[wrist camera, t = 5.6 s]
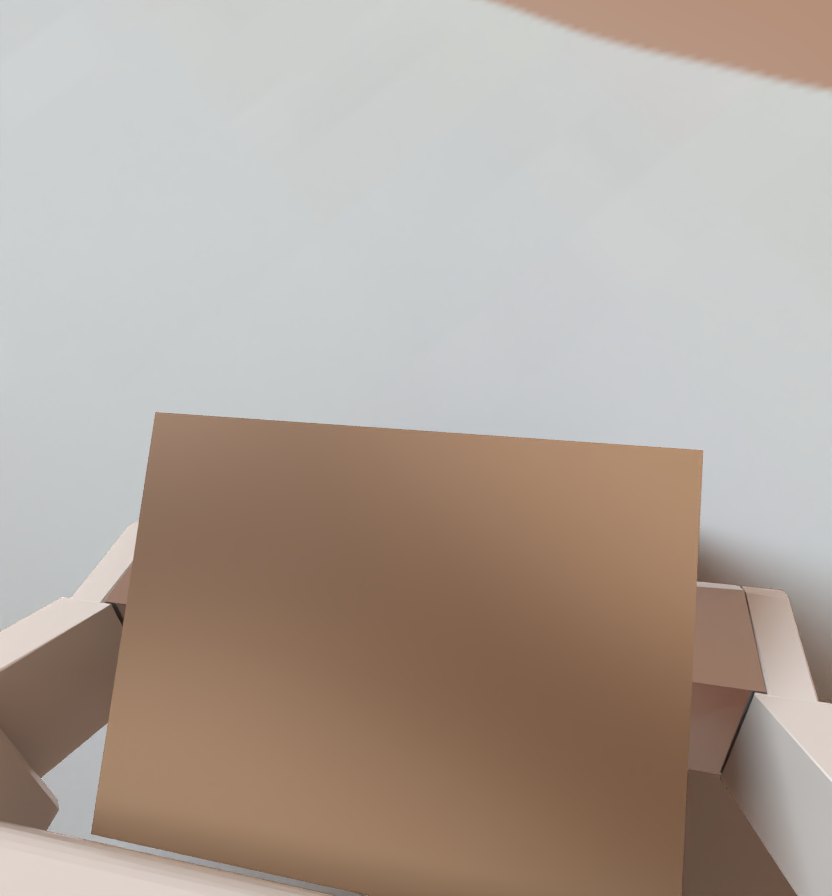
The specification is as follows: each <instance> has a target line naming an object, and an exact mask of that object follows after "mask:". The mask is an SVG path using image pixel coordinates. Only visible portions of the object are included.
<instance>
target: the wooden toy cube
mask: <svg viewBox="0 0 832 896" xmlns="http://www.w3.org/2000/svg"><path fill="white" fill-rule="evenodd" d="M702 464H703V450H691V449H677V448H662V447H648V446H633V445H619V444H605V443H590V442H576V441H562V440H547V439H533V438H518V437H504V436H490V435H475V434H461V433H447V432H432V431H418V430H403V429H389V428H375V427H360V426H346V425H332V424H317V423H303V422H289V421H274V420H260V419H245V418H231V417H217V416H202V415H188V414H174V413H159V412H155V419H154V426H153V432H152V439H151V445H150V452H149V458H148V465H147V471H146V478H145V484H144V491H143V497H142V504H141V511H140V517H139V524H138V530H137V537H136V543H135V550H134V556H133V563H132V569H131V576H130V582H129V589H128V596H127V602H126V609H125V615H124V622H123V628H122V635H121V641H120V648H119V654H118V661H117V667H116V674H115V681H114V687H113V694H112V700H111V707H110V713H109V720H108V726H107V733H106V739H105V746H104V752H103V759H102V766H101V772H100V779H99V785H98V792H97V798H96V805H95V811H94V818H93V824H92V831H91V834H93V835H98V836H102V837H107V838H111V839H116V840H120V841H125V842H129V843H134V844H138V845H143V846H147V847H152V848H156V849H161V850H165V851H170V852H174V853H179V854H183V855H188V856H192V857H197V858H202V859H206V860H211V861H215V862H220V863H224V864H229V865H233V866H238V867H242V868H247V869H251V870H256V871H260V872H265V873H269V874H274V875H278V876H283V877H287V878H292V879H296V880H301V881H305V882H310V883H314V884H319V885H323V886H328V887H332V888H337V889H341V890H346V891H350V892H355V893H359V894H364V895H368V896H682V879H683V858H684V838H685V817H686V796H687V775H688V754H689V734H690V713H691V692H692V671H693V651H694V630H695V609H696V588H697V568H698V547H699V526H700V505H701V485H702Z"/></svg>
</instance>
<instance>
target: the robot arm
mask: <svg viewBox="0 0 832 896" xmlns="http://www.w3.org/2000/svg"><path fill="white" fill-rule="evenodd" d="M138 524H139V521H137V522H135V523H133V524H131V525H129V526H128V527H127V528H126V530H125V531H124V532H123V533H122V535H121V536H120V537H119V538H118V540H117V541H116V542H115V543H114V545H113V546H112V547H111V548H110V550H109V551H108V552H107V553H106V555H105V556H104V557H103V558H102V560H101V561H100V562H99V564H98V565H97V566H96V567H95V569H94V570H93V571H92V572H91V574H90V575H89V576H88V577H87V579H86V580H85V581H84V582H83V584H82V585H81V586H80V587H79V589H78V590H77V591H76V592H75V594H74V595H73V596H72V597H71V598H65V597H62V598H60V599H58V600H56V601H54V602H53V603H51V604H49V605H47V606H45V607H44V608H42V609H40V610H38V611H36V612H35V613H33V614H31V615H29V616H27V617H26V618H24V619H22V620H20V621H18V622H17V623H15V624H13V625H11V626H9V627H8V628H6V629H4V630H2V631H0V896H335V895H331V894H326V893H322V892H317V891H313V890H308V889H304V888H299V887H295V886H290V885H286V884H281V883H277V882H273V881H268V880H264V879H259V878H255V877H250V876H246V875H241V874H237V873H232V872H228V871H223V870H219V869H214V868H210V867H205V866H201V865H197V864H192V863H188V862H183V861H179V860H174V859H170V858H165V857H161V856H156V855H152V854H147V853H143V852H138V851H134V850H129V849H125V848H120V847H116V846H111V845H107V844H103V843H98V842H94V841H89V840H85V839H80V838H76V837H71V836H67V835H62V834H58V833H53V832H49V831H46V830H47V829H48V827H49V825H50V824H51V822H52V820H53V819H54V817H55V815H56V814H57V812H58V810H59V806H58V800H57V798H56V797H55V796H54V795H53V793H52V792H51V791H50V790H49V788H48V787H47V786H46V785H45V783H44V782H43V781H42V780H41V777H43V776H44V775H45V774H46V773H47V772H49V771H50V770H51V769H52V768H54V767H55V766H56V765H57V764H58V763H60V762H61V761H62V760H63V759H64V758H66V757H67V756H68V755H69V754H70V753H72V752H73V751H74V750H75V749H77V748H78V747H79V746H80V745H81V744H83V743H84V742H85V741H86V740H87V739H89V738H90V737H91V736H92V735H93V734H95V733H96V732H97V731H98V730H100V729H101V728H102V727H103V726H104V725H106V724H107V723H108V720H109V713H110V707H111V700H112V694H113V687H114V681H115V674H116V667H117V661H118V654H119V648H120V641H121V635H122V628H123V622H124V615H125V609H126V602H127V596H128V589H129V582H130V576H131V569H132V563H133V556H134V550H135V543H136V537H137V530H138ZM688 769H690V770H695V771H701V772H706V773H711V774H717V775H722V776H721V778H720V779H721V780H722V782H723V783H724V785H725V786H726V788H727V790H728V791H729V793H730V794H731V796H732V797H733V799H734V800H735V802H736V803H737V805H738V806H739V808H740V809H741V811H742V812H743V814H744V815H745V817H746V818H747V820H748V821H749V823H750V824H751V826H752V828H753V829H754V831H755V832H756V834H757V835H758V837H759V838H760V840H761V841H762V843H763V844H764V846H765V847H766V849H767V850H768V852H769V853H770V855H771V856H772V858H773V859H774V861H775V862H776V864H777V866H778V867H779V869H780V870H781V872H782V873H783V875H784V876H785V878H786V879H787V881H788V882H789V884H790V885H791V887H792V888H793V890H794V891H795V893H796V894H797V896H832V704H831V703H825V702H819V700H818V697H817V694H816V690H815V687H814V683H813V680H812V676H811V673H810V670H809V666H808V663H807V659H806V656H805V652H804V649H803V646H802V642H801V639H800V635H799V632H798V629H797V625H796V622H795V618H794V615H793V611H792V608H791V605H790V601H789V598H788V596H787V595H786V594H785V592H784V591H783V590H776V589H767V588H757V587H747V586H740V587H739V586H738V585H729V584H719V583H708V582H698V581H697V588H696V609H695V630H694V651H693V671H692V692H691V713H690V734H689V754H688Z"/></svg>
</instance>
